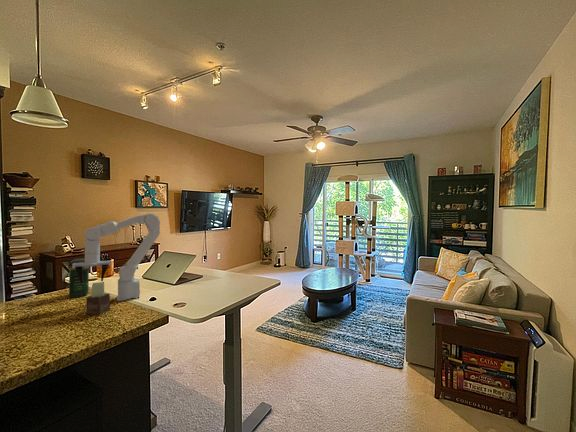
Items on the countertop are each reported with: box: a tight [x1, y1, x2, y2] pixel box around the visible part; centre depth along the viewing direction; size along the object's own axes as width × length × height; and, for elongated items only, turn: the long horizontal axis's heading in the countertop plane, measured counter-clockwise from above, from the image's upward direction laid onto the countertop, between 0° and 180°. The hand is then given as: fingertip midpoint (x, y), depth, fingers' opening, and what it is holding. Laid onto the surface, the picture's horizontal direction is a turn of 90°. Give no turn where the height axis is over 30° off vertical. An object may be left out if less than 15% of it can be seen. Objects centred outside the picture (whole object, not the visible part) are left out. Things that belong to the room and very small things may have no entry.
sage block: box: [91, 281, 105, 297], centre depth 116 cm, size 4×4×5 cm
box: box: [85, 292, 111, 316], centre depth 116 cm, size 6×6×7 cm
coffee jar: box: [68, 257, 90, 298], centre depth 139 cm, size 10×8×19 cm
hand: (92, 281), depth 127 cm, fingers open, 7 cm apart
